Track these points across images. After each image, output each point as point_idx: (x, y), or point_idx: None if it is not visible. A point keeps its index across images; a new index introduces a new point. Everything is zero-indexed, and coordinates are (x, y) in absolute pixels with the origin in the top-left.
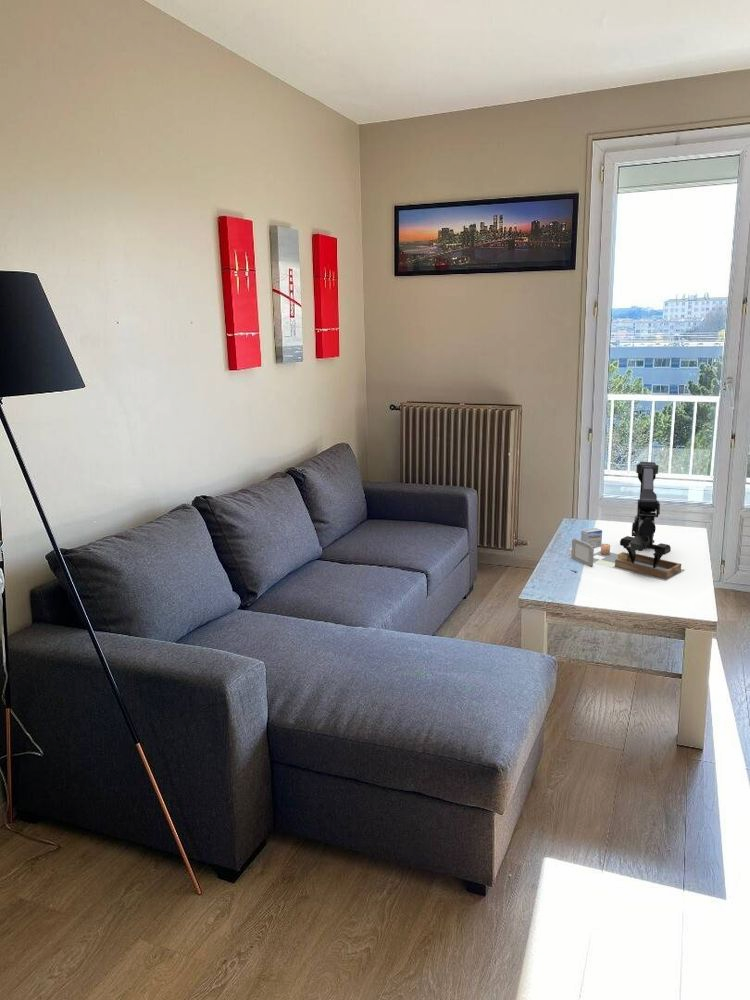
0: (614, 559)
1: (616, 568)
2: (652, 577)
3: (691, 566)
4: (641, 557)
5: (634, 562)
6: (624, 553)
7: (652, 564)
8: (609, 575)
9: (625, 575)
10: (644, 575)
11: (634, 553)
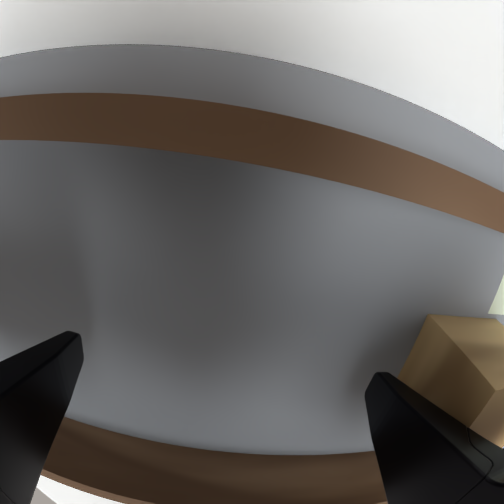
0: None
1: (501, 160)
2: (17, 63)
3: (49, 480)
4: (307, 496)
5: (356, 431)
6: (494, 439)
7: (183, 453)
8: (481, 14)
9: (370, 53)
10: (109, 55)
11: (405, 496)
